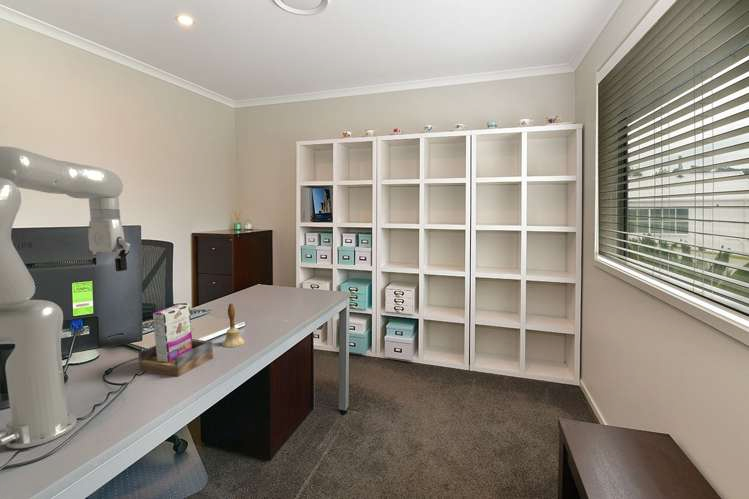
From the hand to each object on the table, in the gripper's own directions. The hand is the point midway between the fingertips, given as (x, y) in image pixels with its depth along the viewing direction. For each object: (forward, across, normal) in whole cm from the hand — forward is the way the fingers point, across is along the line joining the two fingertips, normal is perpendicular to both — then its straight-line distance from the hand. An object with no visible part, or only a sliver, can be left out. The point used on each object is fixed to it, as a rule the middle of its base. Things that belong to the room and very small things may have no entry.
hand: (110, 270), depth 115 cm
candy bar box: (+31, +14, +9) cm, 35 cm away
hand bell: (+34, +19, +32) cm, 50 cm away
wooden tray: (+33, +14, +10) cm, 37 cm away
